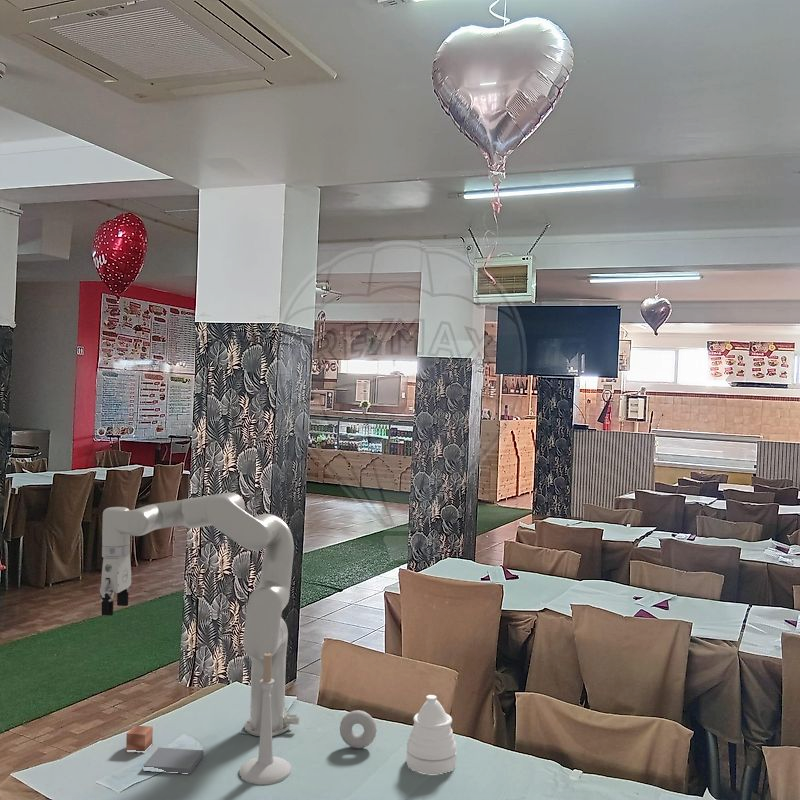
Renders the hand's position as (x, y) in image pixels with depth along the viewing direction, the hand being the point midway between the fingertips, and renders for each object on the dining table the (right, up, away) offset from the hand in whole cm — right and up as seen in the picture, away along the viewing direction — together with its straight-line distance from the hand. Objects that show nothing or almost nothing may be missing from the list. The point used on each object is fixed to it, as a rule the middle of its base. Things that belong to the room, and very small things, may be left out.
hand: (115, 610), depth 227 cm
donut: (+70, -33, -15) cm, 79 cm away
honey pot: (+90, -34, -22) cm, 98 cm away
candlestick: (+48, -33, -29) cm, 65 cm away
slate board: (+24, -32, -26) cm, 48 cm away
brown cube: (+13, -32, -18) cm, 39 cm away
